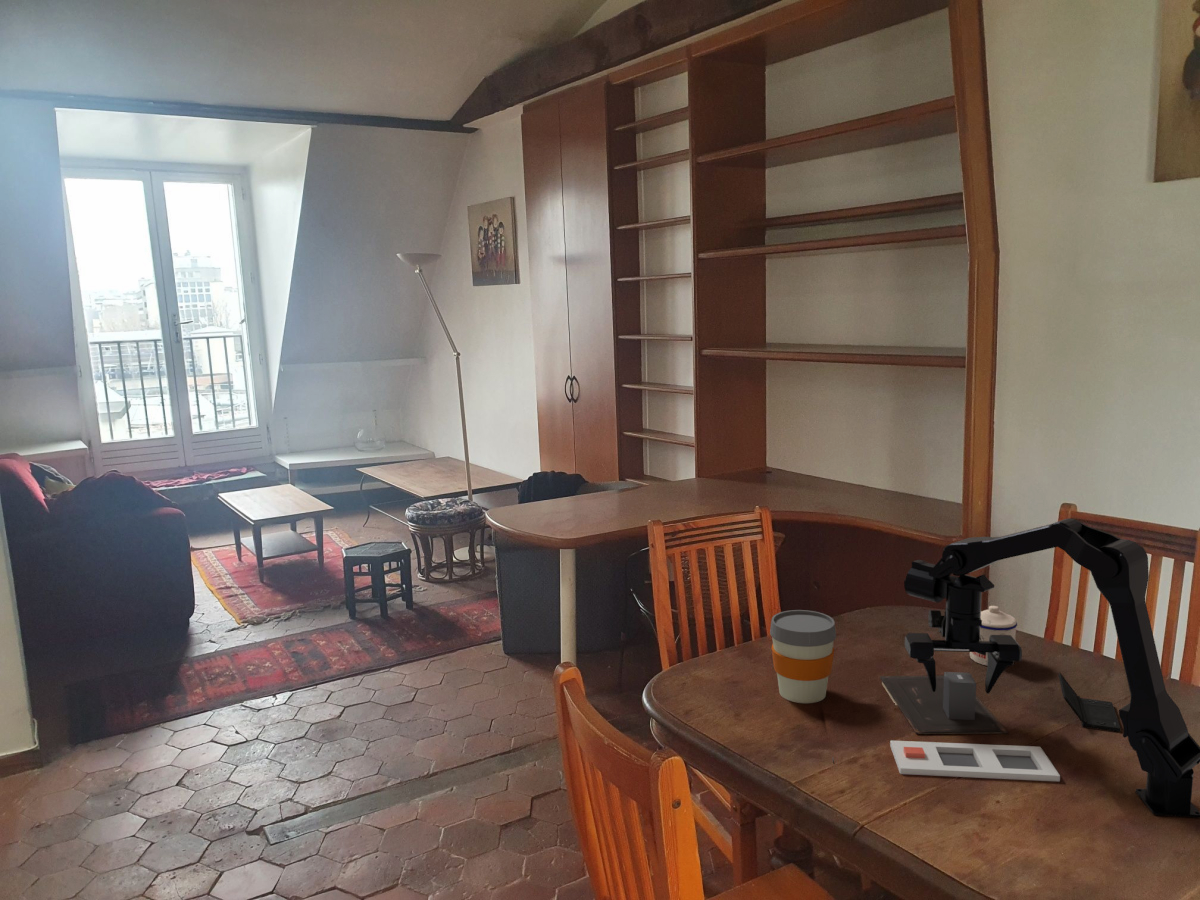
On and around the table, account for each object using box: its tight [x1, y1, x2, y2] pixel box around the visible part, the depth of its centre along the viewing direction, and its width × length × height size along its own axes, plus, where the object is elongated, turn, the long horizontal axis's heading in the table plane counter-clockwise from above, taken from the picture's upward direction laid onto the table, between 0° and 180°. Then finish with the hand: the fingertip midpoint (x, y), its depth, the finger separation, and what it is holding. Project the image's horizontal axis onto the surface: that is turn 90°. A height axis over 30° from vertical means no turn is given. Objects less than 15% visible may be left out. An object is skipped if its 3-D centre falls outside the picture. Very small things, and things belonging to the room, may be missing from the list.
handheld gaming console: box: [1058, 672, 1122, 733], centre depth 158 cm, size 12×7×10 cm
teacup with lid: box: [969, 605, 1018, 667], centre depth 181 cm, size 12×9×12 cm
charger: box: [943, 671, 977, 720], centre depth 157 cm, size 4×4×7 cm
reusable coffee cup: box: [769, 609, 837, 704], centre depth 170 cm, size 13×13×15 cm
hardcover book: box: [879, 674, 1010, 735], centre depth 162 cm, size 16×23×2 cm
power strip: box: [832, 740, 1061, 783], centre depth 142 cm, size 9×34×3 cm, turn 81°
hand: (960, 691), depth 156 cm, fingers open, 9 cm apart
